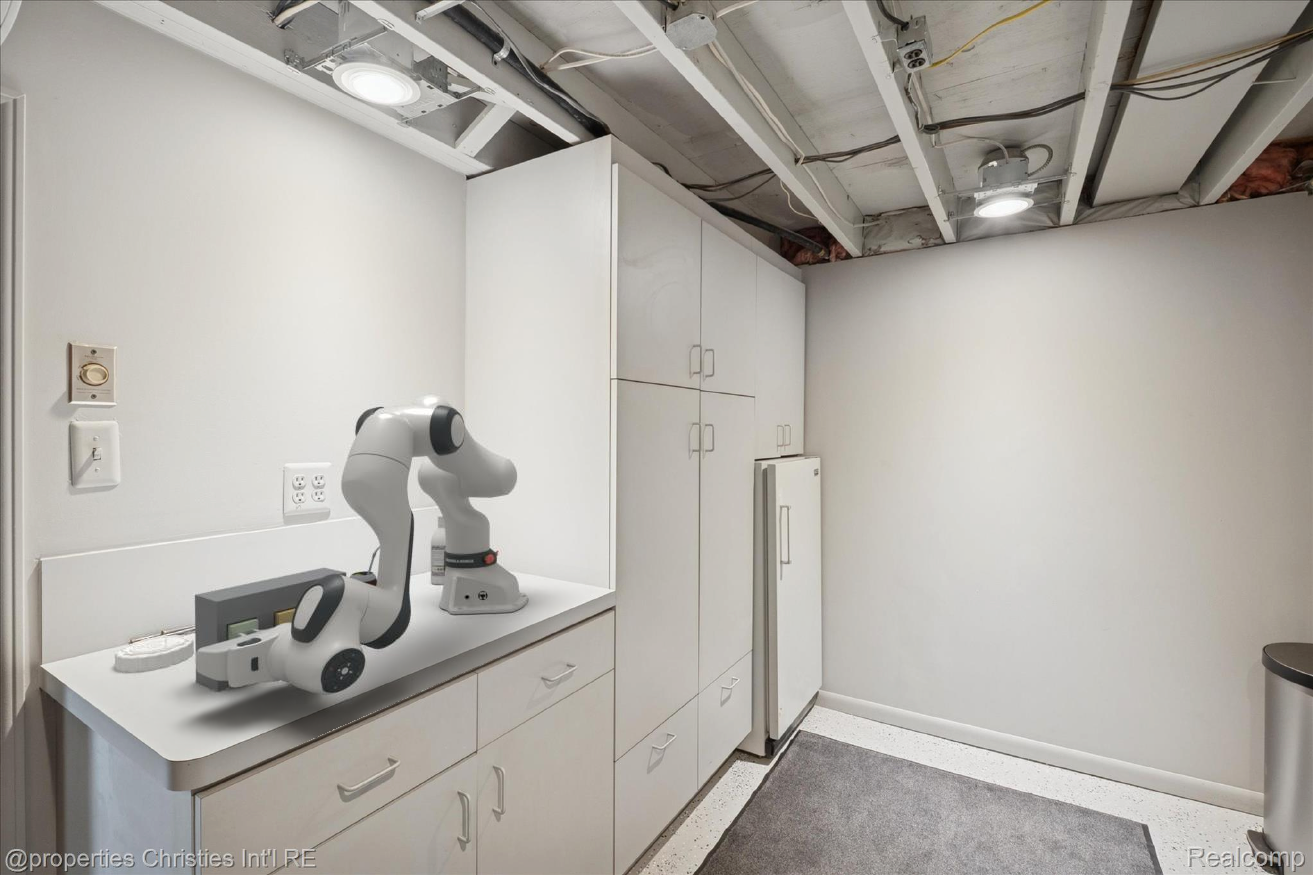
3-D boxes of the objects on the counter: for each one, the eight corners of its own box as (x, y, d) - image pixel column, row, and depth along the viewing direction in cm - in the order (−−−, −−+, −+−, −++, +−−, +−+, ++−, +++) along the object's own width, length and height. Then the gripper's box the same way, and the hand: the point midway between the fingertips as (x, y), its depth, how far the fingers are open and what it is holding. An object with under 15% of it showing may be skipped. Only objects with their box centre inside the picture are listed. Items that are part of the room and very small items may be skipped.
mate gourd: (343, 608, 153) (342, 550, 152) (354, 599, 161) (354, 543, 160) (373, 607, 154) (373, 549, 153) (383, 598, 162) (383, 543, 161)
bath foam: (457, 583, 177) (456, 516, 176) (432, 586, 174) (431, 517, 173) (453, 578, 183) (453, 512, 183) (429, 580, 180) (429, 514, 180)
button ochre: (302, 630, 117) (302, 608, 117) (279, 637, 113) (278, 614, 113) (293, 627, 119) (293, 605, 119) (270, 634, 115) (270, 611, 115)
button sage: (258, 643, 110) (258, 619, 110) (231, 651, 106) (231, 626, 106) (250, 640, 112) (249, 617, 112) (223, 648, 108) (223, 623, 108)
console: (346, 647, 126) (346, 572, 126) (217, 691, 106) (216, 601, 105) (324, 640, 130) (324, 567, 130) (195, 681, 110) (194, 594, 109)
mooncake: (117, 659, 120) (117, 641, 120) (193, 645, 128) (192, 628, 128) (112, 679, 111) (112, 660, 111) (194, 663, 118) (194, 645, 118)
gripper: (346, 615, 110) (303, 603, 117) (221, 652, 93) (179, 635, 100) (347, 649, 110) (304, 635, 117) (221, 692, 93) (180, 673, 100)
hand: (245, 635), depth 108 cm, fingers closed, pressing on button sage
